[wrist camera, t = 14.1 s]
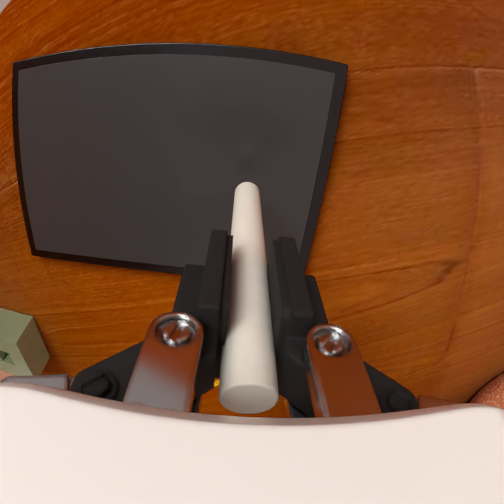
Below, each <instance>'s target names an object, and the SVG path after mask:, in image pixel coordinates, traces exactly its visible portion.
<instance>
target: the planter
mask: <svg viewBox="0 0 504 504" xmlns="http://www.w3.org/2000/svg"><path fill="white" fill-rule="evenodd" d="M469 403H475V404H487V405H492V406H497V407H500V408H503V409H504V373H502V374H501V375H499V376H498V377H496V378H495V379H493V380H492V381H490V382H489V383H488V384H487V385H485V386H484V387H483V388H482V389H481V390H480V391H479V392H478V393H477V394H476V395H475V396H474V397H473V398H472V399H471V401H470V402H469Z"/></svg>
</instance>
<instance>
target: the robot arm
mask: <svg viewBox="0 0 504 504" xmlns="http://www.w3.org/2000/svg"><path fill="white" fill-rule="evenodd" d="M227 232H228V231H225V230H214V229H212V232H211V237H210V242H209V247H208V252H207V257H206V262H205V265H195V264H185V267H184V271H183V274H182V278H181V281H180V285H179V289H178V292H177V296H176V300H175V304H174V308H173V311H172V312H169V313H164V314H162V315H160V316H158V317H157V318H155V319H154V320H153V321H152V323H151V324H150V326H149V329H148V331H147V334H146V337H145V339H144V341H142V342H140V343H138V344H136V345H134V346H132V347H130V348H128V349H126V350H124V351H122V352H120V353H117V354H115V355H113V356H111V357H109V358H107V359H105V360H103V361H101V362H99V363H97V364H95V365H93V366H90V367H88V368H86V369H84V370H83V371H81V372H80V373H78V374H77V376H76V377H71V378H69V376H68V374H58V375H29V376H10V377H7V378H5V379H3V380H2V381H1V382H0V504H504V409H503V408H500V407H497V406H492V405H487V404H475V403H467V404H465V403H460V402H454V401H448V400H442V399H437V398H431V397H426V396H421V395H419V396H418V398H415V396H414V395H413V394H412V393H411V392H410V391H409V390H408V389H406V388H405V387H403V386H402V385H400V384H399V383H397V382H395V381H394V380H392V379H391V378H389V377H388V376H386V375H384V374H383V373H381V372H380V371H378V370H377V369H375V368H374V367H372V366H370V365H369V364H367V363H366V362H364V361H363V360H362V357H361V354H360V352H359V349H358V347H357V344H356V341H355V340H354V338H353V336H352V335H351V334H350V333H349V332H348V331H347V330H345V329H343V328H342V327H340V326H337V325H334V324H328V321H327V318H326V314H325V310H324V307H323V303H322V300H321V296H320V293H319V289H318V286H317V282H316V279H315V277H314V276H312V275H304V272H303V268H302V264H301V260H300V257H299V253H298V249H297V245H296V241H295V238H292V237H283V236H279V237H278V239H277V240H273V239H272V242H271V247H270V253H269V258H268V264H267V275H268V286H269V296H270V307H271V318H272V329H273V340H274V349H275V357H276V368H277V379H278V391H279V394H280V395H282V396H283V397H284V400H283V405H284V412H285V418H260V417H239V416H224V415H212V414H201V413H200V408H201V401H202V395H203V394H205V393H206V392H208V391H209V390H211V389H212V388H214V378H220V366H221V352H222V348H223V346H224V344H225V336H226V327H227V317H228V306H229V291H230V276H231V262H232V248H233V235H227Z"/></svg>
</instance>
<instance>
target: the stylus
mask: <svg viewBox="0 0 504 504" xmlns="http://www.w3.org/2000/svg"><path fill="white" fill-rule="evenodd" d="M231 235H233V248H232V262H231V276H230V291H229V306H228V317H227V327H226V336H225V344H224V346H223V348H222V352H221V366H220V381H219V401H220V403H221V404H222V405H223V406H224V407H225V408H226V409H228V410H230V411H233V412H237V413H243V414H254V413H260V412H264V411H267V410H269V409H271V408H272V407H274V406H275V405H276V403H277V402H278V399H279V391H278V379H277V368H276V357H275V349H274V340H273V329H272V318H271V307H270V296H269V286H268V275H267V262H266V252H265V242H264V232H263V222H262V213H261V203H260V194H259V189H258V187H257V186H256V185H255V184H253V183H251V182H244V183H241V184H239V185H238V186H237V188H236V190H235V196H234V207H233V217H232V228H231Z"/></svg>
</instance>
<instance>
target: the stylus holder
mask: <svg viewBox="0 0 504 504" xmlns="http://www.w3.org/2000/svg"><path fill="white" fill-rule="evenodd" d="M49 357H50V355H49V353H48V351H47V349H46V346H45V344H44V342H43V339H42V337H41V335H40V332H39V330H38V328H37V325H36V323H35V320H34V318H33V316H30V315H26V314H22V313H18V312H14V311H11V310H7V309H3V308H0V370H3V371H5V372H8V373H11V374H13V375H16V376H29V375H41V374H42V371H43V369H44V367H45V365H46V363H47V361H48V359H49Z"/></svg>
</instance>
